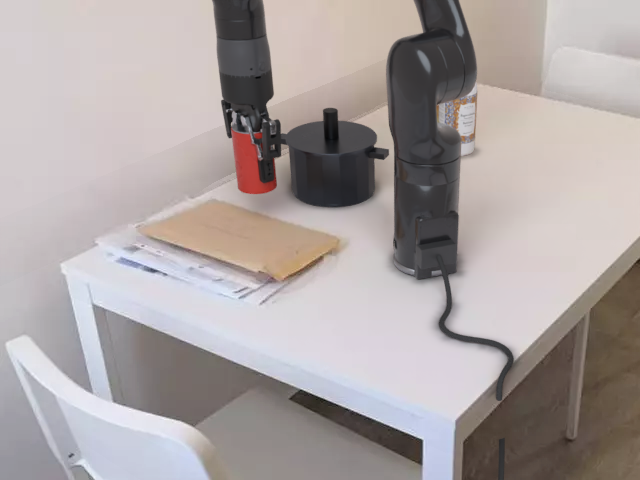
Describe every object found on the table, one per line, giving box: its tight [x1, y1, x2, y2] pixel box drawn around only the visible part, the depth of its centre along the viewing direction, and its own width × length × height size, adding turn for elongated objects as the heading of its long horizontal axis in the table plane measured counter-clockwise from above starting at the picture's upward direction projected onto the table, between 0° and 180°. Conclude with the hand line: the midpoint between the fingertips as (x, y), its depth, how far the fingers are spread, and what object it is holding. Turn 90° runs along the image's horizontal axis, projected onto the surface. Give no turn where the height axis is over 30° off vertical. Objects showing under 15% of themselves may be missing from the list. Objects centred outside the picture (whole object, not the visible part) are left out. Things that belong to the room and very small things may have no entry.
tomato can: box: [231, 124, 278, 195], centre depth 135 cm, size 6×6×10 cm
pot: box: [281, 132, 390, 208], centre depth 148 cm, size 14×19×9 cm
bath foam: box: [439, 82, 478, 157], centre depth 161 cm, size 7×7×20 cm
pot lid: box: [286, 107, 378, 157], centre depth 144 cm, size 15×15×6 cm
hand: (256, 174), depth 136 cm, fingers closed on tomato can, 6 cm apart
